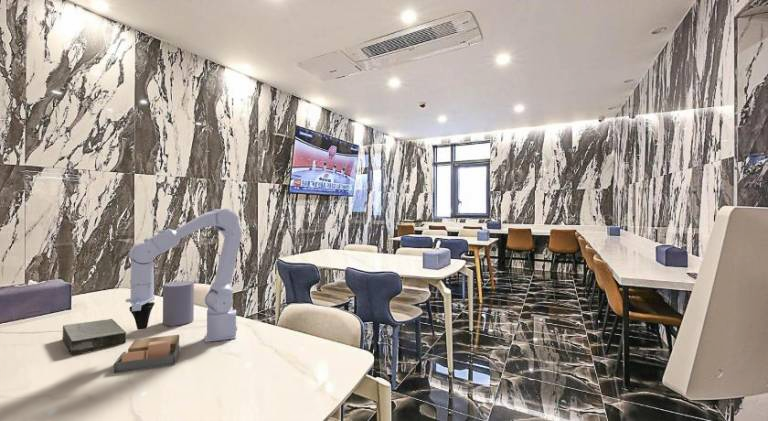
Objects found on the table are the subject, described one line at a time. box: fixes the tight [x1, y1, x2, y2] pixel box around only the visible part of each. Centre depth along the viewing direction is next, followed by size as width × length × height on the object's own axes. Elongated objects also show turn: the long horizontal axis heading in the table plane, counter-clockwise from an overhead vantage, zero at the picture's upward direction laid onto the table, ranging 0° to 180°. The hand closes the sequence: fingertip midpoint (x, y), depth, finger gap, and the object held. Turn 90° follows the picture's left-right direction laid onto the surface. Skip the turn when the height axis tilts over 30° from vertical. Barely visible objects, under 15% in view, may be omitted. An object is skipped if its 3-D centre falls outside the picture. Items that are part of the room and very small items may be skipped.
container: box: [162, 280, 195, 327], centre depth 136 cm, size 10×10×15 cm
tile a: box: [148, 340, 170, 359], centre depth 101 cm, size 5×5×2 cm
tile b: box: [121, 350, 148, 362], centre depth 98 cm, size 5×5×2 cm
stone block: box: [61, 318, 127, 356], centre depth 116 cm, size 14×20×5 cm
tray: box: [113, 344, 180, 374], centre depth 100 cm, size 14×9×2 cm, turn 113°
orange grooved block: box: [127, 334, 180, 353], centre depth 108 cm, size 12×8×3 cm, turn 113°
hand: (142, 328), depth 105 cm, fingers closed
